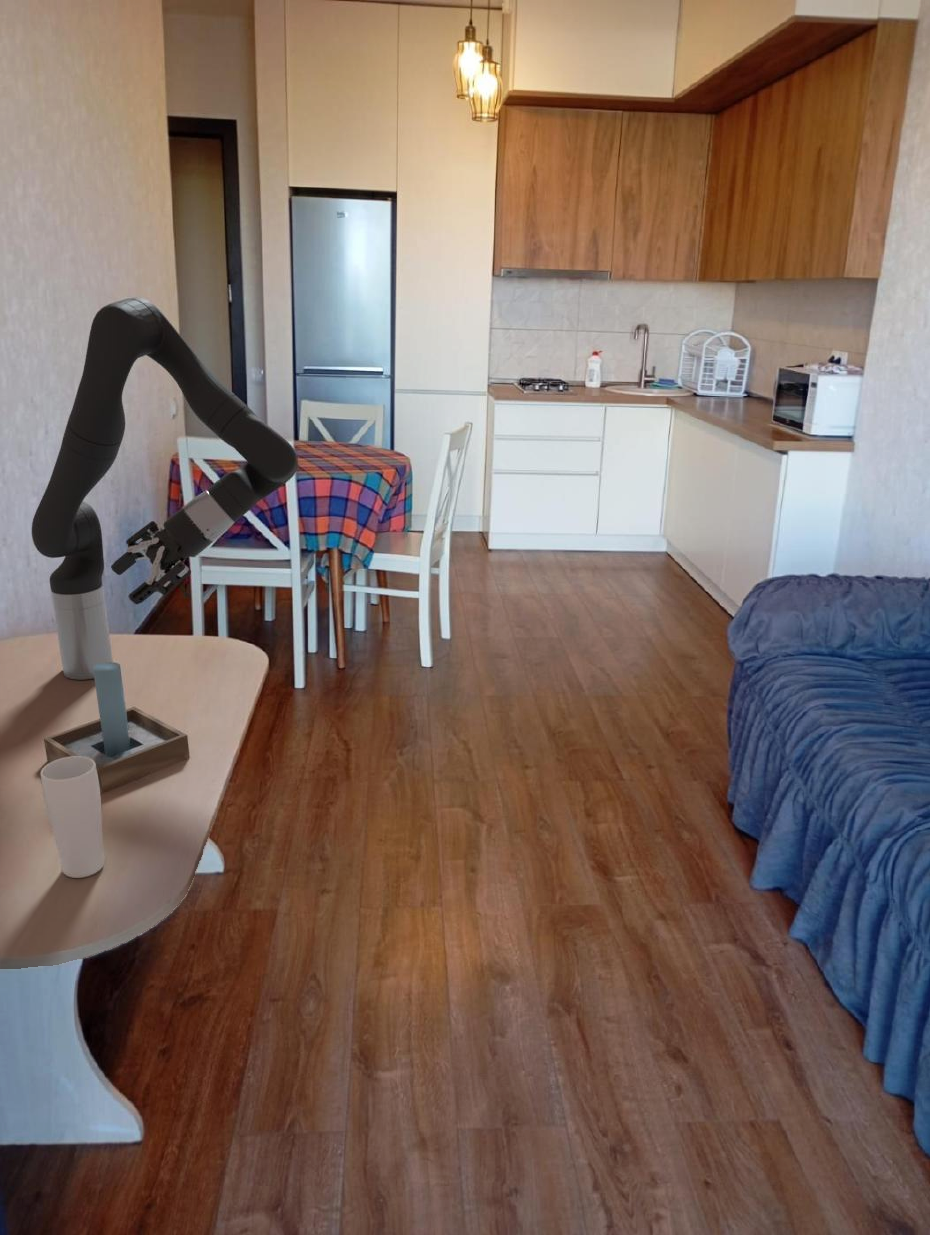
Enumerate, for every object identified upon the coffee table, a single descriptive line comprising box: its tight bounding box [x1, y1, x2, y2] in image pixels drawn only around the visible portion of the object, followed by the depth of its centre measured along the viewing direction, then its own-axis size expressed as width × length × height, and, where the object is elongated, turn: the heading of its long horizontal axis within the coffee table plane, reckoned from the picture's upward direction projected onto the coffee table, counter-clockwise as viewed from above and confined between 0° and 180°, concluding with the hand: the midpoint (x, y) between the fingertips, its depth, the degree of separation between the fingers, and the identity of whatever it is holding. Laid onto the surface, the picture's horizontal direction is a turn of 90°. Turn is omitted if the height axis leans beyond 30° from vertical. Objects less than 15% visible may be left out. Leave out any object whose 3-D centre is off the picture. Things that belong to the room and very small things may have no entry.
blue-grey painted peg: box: [93, 662, 131, 758], centre depth 158 cm, size 4×4×16 cm
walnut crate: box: [43, 706, 190, 795], centre depth 160 cm, size 16×16×4 cm
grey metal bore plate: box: [61, 718, 172, 767], centre depth 161 cm, size 14×14×2 cm
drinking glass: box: [40, 756, 105, 879], centre depth 130 cm, size 7×7×15 cm
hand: (123, 585), depth 165 cm, fingers open, 8 cm apart
